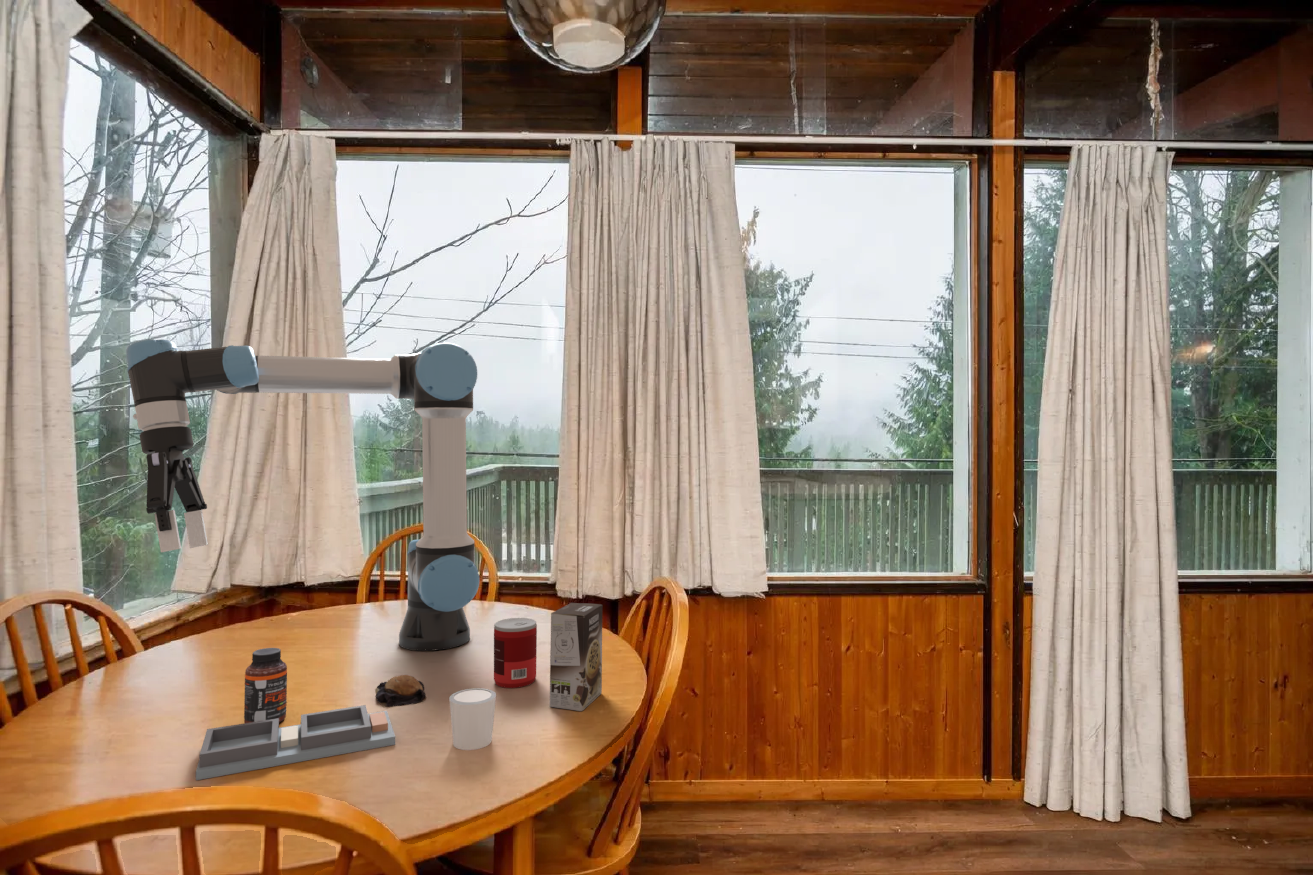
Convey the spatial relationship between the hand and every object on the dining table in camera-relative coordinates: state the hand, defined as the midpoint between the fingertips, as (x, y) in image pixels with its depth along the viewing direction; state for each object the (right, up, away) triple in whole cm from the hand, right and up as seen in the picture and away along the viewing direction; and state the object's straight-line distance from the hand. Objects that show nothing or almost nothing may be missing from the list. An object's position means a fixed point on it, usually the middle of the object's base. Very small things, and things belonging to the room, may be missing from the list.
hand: (185, 548), depth 123 cm
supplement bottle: (+19, -26, -10) cm, 34 cm away
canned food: (+55, -27, +10) cm, 62 cm away
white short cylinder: (+54, -27, -17) cm, 63 cm away
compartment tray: (+29, -26, -19) cm, 44 cm away
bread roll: (+37, -27, +2) cm, 46 cm away
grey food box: (+68, -27, 0) cm, 73 cm away
